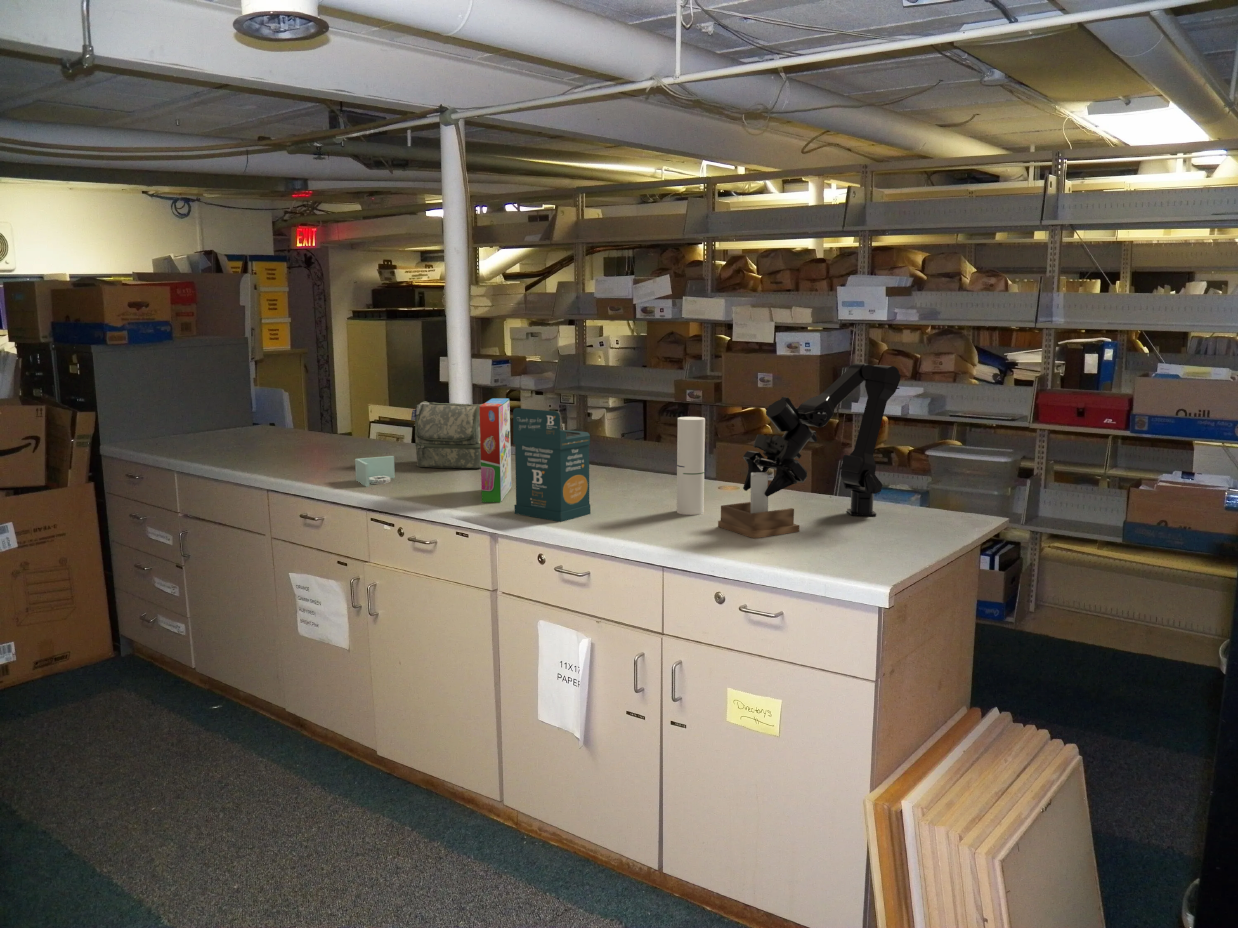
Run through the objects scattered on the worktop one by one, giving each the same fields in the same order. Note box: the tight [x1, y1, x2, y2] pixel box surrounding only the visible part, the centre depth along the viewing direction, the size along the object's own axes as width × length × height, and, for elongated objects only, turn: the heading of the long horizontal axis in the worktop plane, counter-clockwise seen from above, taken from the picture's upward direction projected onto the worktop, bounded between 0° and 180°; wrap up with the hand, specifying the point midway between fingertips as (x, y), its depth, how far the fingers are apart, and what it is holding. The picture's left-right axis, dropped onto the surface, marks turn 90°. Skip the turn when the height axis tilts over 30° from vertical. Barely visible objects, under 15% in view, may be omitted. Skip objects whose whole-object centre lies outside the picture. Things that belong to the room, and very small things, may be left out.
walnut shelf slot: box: [717, 501, 801, 539], centre depth 230 cm, size 14×14×6 cm
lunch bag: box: [410, 400, 483, 470], centre depth 323 cm, size 26×18×22 cm
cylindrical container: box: [676, 416, 706, 516], centre depth 248 cm, size 7×7×25 cm
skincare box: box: [750, 472, 769, 513], centre depth 230 cm, size 6×4×12 cm
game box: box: [479, 397, 512, 504], centre depth 270 cm, size 21×6×27 cm, turn 178°
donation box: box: [512, 407, 591, 523], centre depth 247 cm, size 16×16×28 cm
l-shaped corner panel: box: [354, 455, 396, 488], centre depth 292 cm, size 12×12×8 cm
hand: (754, 492), depth 229 cm, fingers open, 8 cm apart
